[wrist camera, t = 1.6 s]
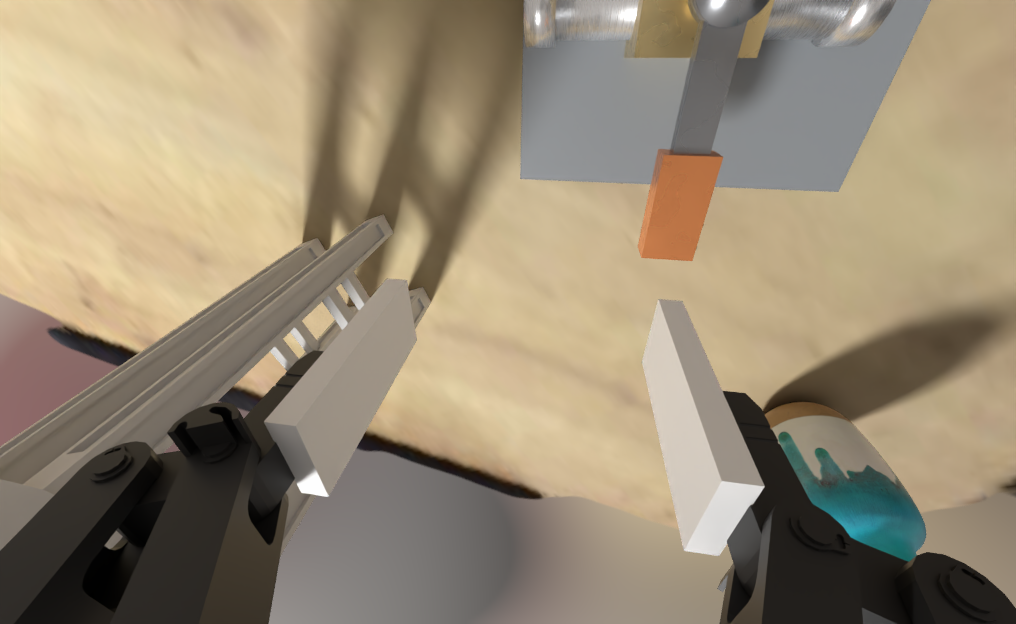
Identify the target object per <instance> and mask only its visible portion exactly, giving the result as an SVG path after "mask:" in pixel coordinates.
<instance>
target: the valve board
mask: <svg viewBox="0 0 1016 624" xmlns="http://www.w3.org/2000/svg"><path fill="white" fill-rule="evenodd" d="M930 1H931V0H897V1H896V3H895V4H894V6H893V8H892V10H891V11H890V13H889V15H888V16H887V18H886V19H885V21H884V22H883V23H882V25H881V26H880V27H879V28H878V29H877V31H876V32H875V33H874V34H873V35H872V36H871V37H870V38H869V39H867V40H866V41H865V42H863V43H862V44H860V45H858V46H855V47H815V46H814V45H813V44H812V43H811V40H762V43H761V46H760V49H759V53H758V56H757V58H737V61H736V64H735V68H734V72H733V75H732V79H731V82H730V86H729V89H728V93H727V96H726V100H725V104H724V107H723V111H722V114H721V118H720V121H719V125H718V129H717V132H716V136H715V139H714V143H713V146H712V151H715V152H717V153H718V154H720V155H721V156H723V160H722V164H721V167H720V170H719V174H718V177H717V180H716V183H715V187H730V188H755V189H780V190H804V191H829V192H839V189H840V187H841V185H842V183H843V181H844V179H845V177H846V175H847V173H848V171H849V169H850V167H851V165H852V163H853V160H854V158H855V156H856V154H857V152H858V150H859V148H860V146H861V144H862V142H863V140H864V138H865V136H866V134H867V131H868V129H869V127H870V125H871V123H872V121H873V119H874V117H875V115H876V113H877V111H878V109H879V107H880V105H881V102H882V100H883V98H884V96H885V94H886V92H887V90H888V88H889V86H890V84H891V82H892V80H893V78H894V76H895V74H896V71H897V69H898V67H899V65H900V63H901V61H902V59H903V57H904V55H905V53H906V51H907V49H908V47H909V45H910V42H911V40H912V38H913V36H914V34H915V32H916V30H917V28H918V26H919V24H920V22H921V20H922V18H923V16H924V13H925V11H926V9H927V7H928V5H929V3H930ZM625 45H626V40H568V41H556V46H555V48H527V47H526V44H525V36H524V20H523V71H522V123H521V174H520V179H533V180H558V181H582V182H607V183H632V184H651V181H652V176H653V171H654V166H655V162H656V157H657V152H658V149H670V147H671V143H672V138H673V134H674V129H675V125H676V121H677V116H678V112H679V107H680V103H681V98H682V94H683V89H684V85H685V80H686V76H687V71H688V67H689V62H690V58H624V52H625Z"/></svg>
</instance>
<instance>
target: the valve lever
mask: <svg viewBox="0 0 1016 624" xmlns="http://www.w3.org/2000/svg"><path fill="white" fill-rule="evenodd" d="M769 1H770V0H688V6H689V10H690V13H691V15H692V17H693V18H694V19H695V21H696V22H697V23H698V27H697V31H696V36H695V40H694V45H693V49H692V54H691V58H690V62H689V67H688V71H687V76H686V80H685V85H684V89H683V94H682V98H681V103H680V107H679V112H678V116H677V121H676V125H675V129H674V134H673V138H672V143H671V147H670V149H658V152H657V157H656V162H655V166H654V171H653V176H652V181H651V186H650V191H649V195H648V200H647V205H646V210H645V215H644V220H643V224H642V229H641V234H640V239H639V244H638V249H639V252H640V255H641V258H653V259H669V260H685V261H692V260H693V257H694V253H695V250H696V247H697V243H698V240H699V237H700V233H701V230H702V227H703V223H704V220H705V217H706V213H707V210H708V207H709V203H710V200H711V197H712V193H713V190H714V187H715V183H716V180H717V177H718V174H719V170H720V167H721V164H722V160H723V156H721V155H720V154H718V153H717V152H715V151H712V146H713V143H714V139H715V136H716V132H717V129H718V125H719V121H720V118H721V114H722V111H723V107H724V104H725V100H726V96H727V93H728V89H729V86H730V82H731V79H732V75H733V72H734V68H735V64H736V61H737V57H738V54H739V50H740V47H741V43H742V40H743V36H744V32H745V29H746V25H747V22H748V20H750V19H751V18H753V17H754V16H755V15H757V14H758V13H759V12H760V11H761V10H762V9H763V8H764V7H765V6H766V5H767V3H768V2H769Z"/></svg>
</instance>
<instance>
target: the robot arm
mask: <svg viewBox="0 0 1016 624" xmlns="http://www.w3.org/2000/svg"><path fill="white" fill-rule="evenodd" d="M416 341H417V338H416V332H415V326H414V320H413V314H412V308H411V302H410V296H409V290H408V284H407V280H399V279H386V280H385V281H384V282H383V284H382V285H381V286H380V287H379V288H378V289H377V291H376V292H375V293H374V294H373V295H372V296H371V298H370V299H369V300H368V301H367V302H366V303H365V304H364V306H363V307H362V308H361V309H360V310H359V311H358V313H357V314H356V315H355V316H354V317H353V318H352V320H351V321H350V322H349V323H348V324H347V325H346V327H345V328H344V329H343V330H342V331H341V332H340V334H339V335H338V336H337V337H336V338H335V339H334V341H333V342H332V343H331V344H330V345H329V346H328V348H327V349H326V350H325V351H316V350H313V351H312V352H310V353H308V354H307V355H305V356H304V357H302V358H301V359H299V360H297V361H296V362H295V364H294V365H293V366H292V367H291V368H290V369H289V370H288V371H287V372H286V375H285V376H283V377H282V378H281V379H280V380H279V381H278V382H277V383H276V386H275V387H274V386H273V387H272V388H271V390H270V391H269V392H268V393H267V394H266V395H265V396H264V397H263V398H262V399H261V400H260V402H259V403H258V404H257V405H256V406H255V407H254V408H253V409H252V410H251V411H250V412H249V413H248V415H247V416H246V417H245V418H244V419H243V417H242V415H241V414H240V412H239V410H238V409H237V408H236V407H235V405H233V404H230V403H226V402H221V403H212V404H208V405H205V406H202V407H199V408H197V409H195V410H193V411H191V412H189V413H187V414H186V415H184V416H183V417H182V418H180V419H179V420H178V421H177V422H175V423H174V424H173V426H172V427H171V428H170V429H169V431H168V432H167V434H168V435H169V436H170V438H171V439H172V440H173V442H174V443H175V444H176V445H177V447H178V448H179V450H180V451H176V452H170V453H163V454H156V453H155V452H154V451H153V449H152V448H151V447H150V446H149V445H148V444H147V443H146V442H138V441H134V442H128V443H123V444H120V445H118V446H115V447H112V448H110V449H107V450H106V451H104V452H102V453H101V454H99V455H97V456H95V457H94V458H92V459H91V460H90V461H89V462H87V463H86V464H85V465H84V466H83V467H82V468H80V469H79V470H78V471H77V472H76V473H75V475H74V476H73V477H72V478H71V479H70V480H69V481H68V482H67V483H66V484H65V485H64V486H63V487H62V488H61V489H60V490H59V491H58V492H57V493H56V494H55V495H54V496H53V497H52V498H51V499H50V500H49V501H48V502H47V503H46V504H45V505H44V506H43V507H42V508H41V509H40V510H39V511H38V512H37V514H36V515H35V516H34V517H33V518H32V519H31V520H30V521H29V522H28V523H27V524H26V525H25V526H24V527H23V528H22V529H21V530H20V531H19V532H18V533H17V534H16V535H15V536H14V537H13V538H12V539H11V540H10V541H9V542H8V543H7V544H6V545H5V546H4V547H3V548H2V549H1V550H0V624H268V623H269V617H270V612H271V606H272V600H273V594H274V588H275V583H276V576H277V571H278V565H279V559H280V554H281V548H282V542H283V536H284V530H285V524H286V519H287V513H288V507H289V500H288V496H287V494H286V491H287V490H288V488H289V487H290V485H291V484H292V482H293V481H294V480H295V482H296V484H297V486H298V487H299V489H300V491H301V493H307V494H313V495H320V496H327V497H329V495H330V494H331V492H332V490H333V488H334V486H335V485H336V483H337V481H338V479H339V478H340V476H341V474H342V472H343V470H344V469H345V467H346V465H347V463H348V461H349V460H350V458H351V456H352V454H353V453H354V451H355V449H356V447H357V446H358V444H359V442H360V440H361V438H362V437H363V435H364V433H365V431H366V430H367V428H368V426H369V424H370V422H371V421H372V419H373V417H374V415H375V414H376V412H377V410H378V408H379V406H380V405H381V403H382V401H383V399H384V398H385V396H386V394H387V392H388V391H389V389H390V387H391V385H392V383H393V382H394V380H395V378H396V376H397V375H398V373H399V371H400V369H401V367H402V366H403V364H404V362H405V360H406V359H407V357H408V355H409V353H410V351H411V350H412V348H413V346H414V344H415V343H416ZM642 364H643V368H644V373H645V377H646V382H647V386H648V391H649V395H650V400H651V404H652V409H653V413H654V418H655V422H656V427H657V431H658V436H659V440H660V445H661V450H662V454H663V459H664V463H665V468H666V472H667V477H668V481H669V486H670V490H671V495H672V499H673V504H674V508H675V513H676V517H677V522H678V526H679V531H680V535H681V540H682V544H683V548H684V551H689V552H696V553H703V554H709V555H716V556H719V555H720V553H721V552H722V550H723V549H724V548H725V546H726V545H727V544H728V547H729V550H730V553H731V556H732V560H733V565H732V566H731V568H730V569H729V570H728V572H727V573H726V574H725V576H724V577H723V579H722V580H721V582H720V584H719V586H718V588H717V589H719V590H720V591H722V592H723V591H724V589H725V588H726V589H725V595H724V601H723V607H722V613H721V619H720V624H1016V608H1015V607H1014V606H1013V604H1012V603H1011V602H1010V600H1009V599H1008V598H1007V597H1006V596H1005V594H1004V593H1003V592H1002V591H1001V590H999V589H998V588H997V587H996V586H995V585H994V584H993V583H991V582H990V581H989V580H988V579H987V578H986V577H985V576H983V575H981V574H980V573H978V572H977V571H975V570H974V569H972V568H971V567H969V566H967V565H966V564H964V563H962V562H960V561H958V560H955V559H953V558H951V557H948V556H946V555H943V554H937V553H930V552H926V553H923V554H920V555H917V556H915V557H914V558H913V559H912V560H910V561H909V562H908V561H906V560H903V559H901V558H898V557H896V556H893V555H891V554H888V553H886V552H883V551H881V550H878V549H876V548H873V547H871V546H869V545H866V544H864V543H861V542H859V541H857V540H855V539H853V538H851V537H850V536H849V534H848V533H847V531H846V530H845V529H844V527H843V526H842V525H841V524H840V523H839V522H838V521H837V520H835V519H834V518H833V517H832V516H831V515H830V514H829V513H827V512H825V511H824V510H822V509H820V508H819V507H817V506H815V505H814V504H812V502H811V501H810V499H809V497H808V495H807V494H806V492H805V490H804V488H803V486H802V484H801V482H800V480H799V479H798V477H797V475H796V473H795V471H794V469H793V467H792V465H791V464H790V462H789V460H788V458H787V456H786V454H785V452H784V450H783V449H782V447H781V445H780V444H778V439H777V437H776V435H775V434H774V432H773V430H772V429H770V424H769V422H768V420H767V419H766V417H765V415H764V413H763V411H762V409H761V408H760V407H759V406H758V405H757V404H756V403H755V402H754V401H753V400H752V399H751V398H750V397H749V396H748V395H746V394H745V393H738V392H728V391H722V389H721V387H720V385H719V382H718V380H717V378H716V376H715V373H714V371H713V369H712V367H711V364H710V362H709V360H708V358H707V355H706V353H705V351H704V349H703V346H702V344H701V342H700V340H699V337H698V335H697V333H696V331H695V328H694V326H693V324H692V322H691V319H690V317H689V315H688V313H687V310H686V308H685V306H684V304H683V301H676V300H662V299H658V303H657V307H656V310H655V314H654V318H653V322H652V326H651V329H650V333H649V337H648V341H647V345H646V348H645V352H644V356H643V360H642ZM115 531H117V532H118V533H119V534H120V535H122V536H123V537H122V538H121V540H120V541H119V542H118V543H117V544H116V545H115V546H114V547H113V548H111V549H108V548H107V547H106V546H105V544H106V543H107V542H108V540H109V539H110V538H111V537H112V535H113V534H114V533H115Z"/></svg>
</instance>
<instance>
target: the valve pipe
mask: <svg viewBox="0 0 1016 624" xmlns="http://www.w3.org/2000/svg"><path fill="white" fill-rule="evenodd" d="M896 1H897V0H770V1H769V2H768V3H767V5H766V6H765V7H764V8H763V9H762V10H761V11H760V12H759V13H758V14H757V15H755V16H754V17H753V18H751V19H750V20H748V22H747V25H746V29H745V32H744V36H743V40H742V43H741V47H740V50H739V54H738V57H737V58H757V56H758V53H759V49H760V46H761V43H762V40H811V43H812V44H813V45H814V46H815V47H855V46H858V45H860V44H862V43H863V42H865V41H866V40H867V39H869V38H870V37H871V36H872V35H873V34H874V33H875V32H876V31H877V29H878V28H879V27H880V26H881V25H882V23H883V22H884V21H885V19H886V18H887V16H888V15H889V13H890V11H891V10H892V8H893V6H894V4H895V3H896ZM697 27H698V23H697V22H696V21H695V19H694V18H693V17H692V15H691V13H690V10H689V6H688V0H524V36H525V44H526V47H527V48H555V46H556V41H568V40H626V45H625V52H624V58H691V54H692V49H693V45H694V40H695V36H696V31H697Z"/></svg>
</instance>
